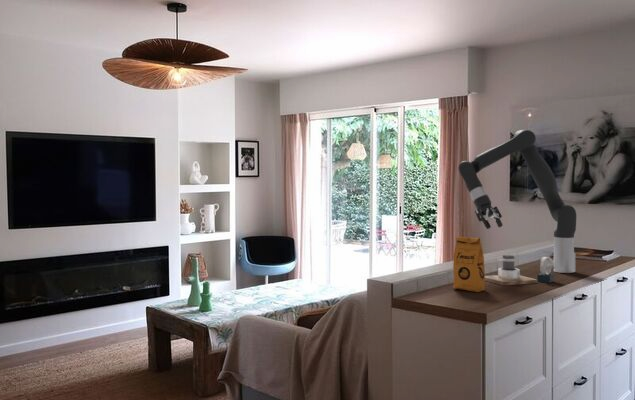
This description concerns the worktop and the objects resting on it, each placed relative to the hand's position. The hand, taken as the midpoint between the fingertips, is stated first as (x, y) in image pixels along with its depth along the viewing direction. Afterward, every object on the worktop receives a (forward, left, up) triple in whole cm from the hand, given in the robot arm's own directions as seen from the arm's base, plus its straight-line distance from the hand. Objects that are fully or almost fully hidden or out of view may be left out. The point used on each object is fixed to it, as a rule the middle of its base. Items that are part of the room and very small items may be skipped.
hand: (495, 227), depth 274 cm
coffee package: (+32, +28, -23) cm, 48 cm away
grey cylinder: (+4, +16, -21) cm, 27 cm away
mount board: (+4, +16, -23) cm, 28 cm away
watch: (-12, +21, -23) cm, 34 cm away
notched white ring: (+4, +16, -21) cm, 27 cm away
